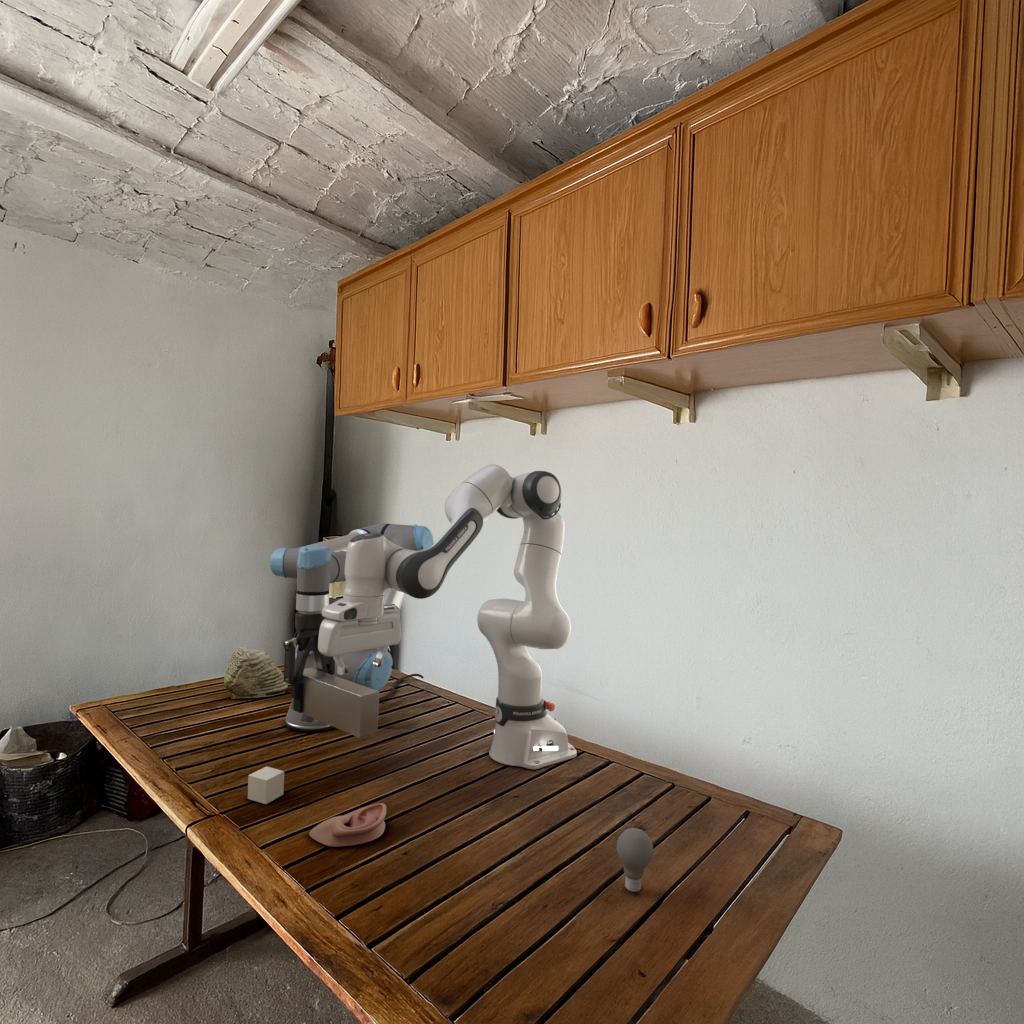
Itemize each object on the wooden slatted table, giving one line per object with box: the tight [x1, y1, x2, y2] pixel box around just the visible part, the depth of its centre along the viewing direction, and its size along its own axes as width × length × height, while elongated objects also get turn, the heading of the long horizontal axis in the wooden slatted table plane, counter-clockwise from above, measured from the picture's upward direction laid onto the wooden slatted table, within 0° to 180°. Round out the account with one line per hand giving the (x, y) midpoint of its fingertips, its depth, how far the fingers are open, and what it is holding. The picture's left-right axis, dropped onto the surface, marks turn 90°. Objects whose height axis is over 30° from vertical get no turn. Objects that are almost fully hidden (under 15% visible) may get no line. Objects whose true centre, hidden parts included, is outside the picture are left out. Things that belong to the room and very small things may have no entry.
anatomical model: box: [308, 802, 387, 848], centre depth 120 cm, size 13×4×12 cm
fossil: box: [223, 646, 289, 700], centre depth 198 cm, size 9×18×15 cm, turn 132°
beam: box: [290, 668, 380, 739], centre depth 145 cm, size 5×26×9 cm, turn 51°
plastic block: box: [247, 766, 285, 805], centre depth 133 cm, size 5×5×5 cm
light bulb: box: [616, 827, 654, 893], centre depth 106 cm, size 6×6×10 cm
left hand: (308, 708), depth 151 cm, fingers closed on beam, 5 cm apart
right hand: (360, 670), depth 139 cm, fingers open, 8 cm apart
